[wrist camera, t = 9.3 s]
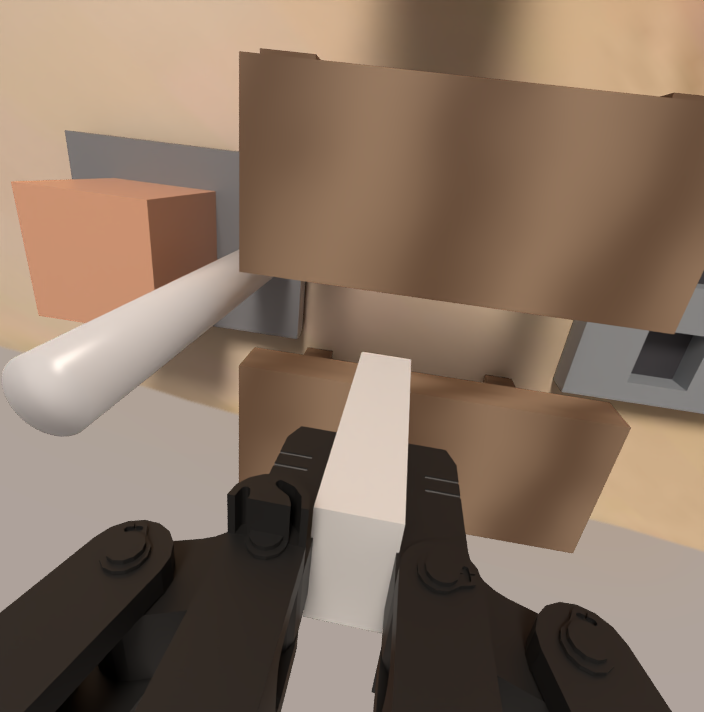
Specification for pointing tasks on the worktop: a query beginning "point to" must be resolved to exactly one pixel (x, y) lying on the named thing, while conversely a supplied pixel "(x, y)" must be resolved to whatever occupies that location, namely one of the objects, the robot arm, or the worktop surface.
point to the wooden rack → (467, 253)
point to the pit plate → (638, 361)
